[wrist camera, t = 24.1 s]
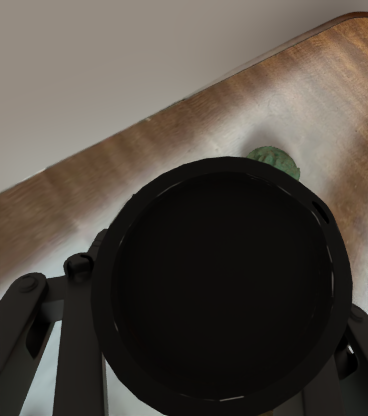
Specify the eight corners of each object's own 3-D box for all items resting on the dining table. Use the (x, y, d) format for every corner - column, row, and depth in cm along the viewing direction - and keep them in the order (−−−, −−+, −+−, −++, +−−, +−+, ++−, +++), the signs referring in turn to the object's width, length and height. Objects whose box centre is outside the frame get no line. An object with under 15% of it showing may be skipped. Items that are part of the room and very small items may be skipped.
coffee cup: (239, 274, 20) (425, 324, 6) (166, 325, 19) (174, 569, 4) (195, 204, 22) (259, 101, 7) (123, 246, 20) (14, 223, 5)
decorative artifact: (284, 211, 37) (294, 163, 39) (311, 201, 30) (321, 143, 32) (232, 194, 36) (244, 146, 39) (247, 180, 30) (261, 123, 32)
